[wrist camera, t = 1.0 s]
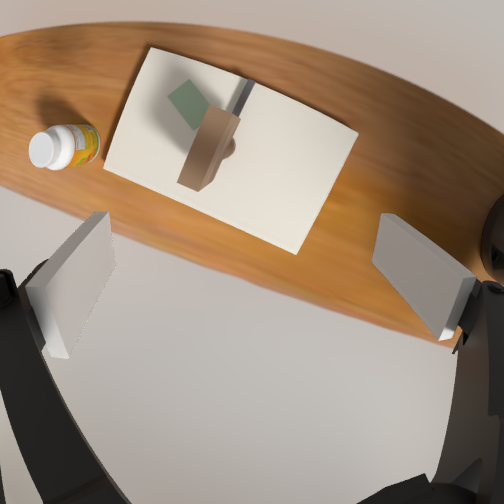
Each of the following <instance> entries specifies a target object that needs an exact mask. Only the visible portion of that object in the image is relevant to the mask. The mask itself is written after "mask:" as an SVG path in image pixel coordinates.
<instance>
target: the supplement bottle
mask: <svg viewBox="0 0 504 504" xmlns="http://www.w3.org/2000/svg"><path fill="white" fill-rule="evenodd" d="M99 149H100V137H99V134H98V132H97V131H96V129H95V128H93V127H92V126H90V125H85V124H75V125H55V126H52V127H50V128H48V129H47V130H46V131H45V132H39V133H37V134H36V135H34V137H33V138H32V140H31V142H30V145H29V157H30V160H31V162H32V163H33V164H34V165H35V166H37V167H47V168H48V169H51V170H60V169H64V168H68V167H73V166H77V165H82V164H86V163H89V162H91V161H92V160H93V159H94V158H95V157H96V156H97V154H98V152H99Z"/></svg>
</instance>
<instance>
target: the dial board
mask: <svg viewBox="0 0 504 504" xmlns="http://www.w3.org/2000/svg"><path fill="white" fill-rule="evenodd" d="M247 81H248V80H247V79H245V78H242V77H240V76H237V75H234V74H232V73H229V72H227V71H224V70H221V69H218V68H216V67H213V66H210V65H207V64H204V63H201V62H198V61H195V60H192V59H189V58H186V57H183V56H180V55H176V54H173V53H170V52H166V51H163V50H159V49H155V48H152V47H151V49H150V51H149V53H148V55H147V57H146V59H145V61H144V63H143V65H142V68H141V70H140V72H139V74H138V76H137V79H136V81H135V83H134V86H133V88H132V90H131V93H130V95H129V98H128V100H127V102H126V105H125V108H124V110H123V113H122V115H121V118H120V120H119V123H118V126H117V129H116V131H115V134H114V137H113V140H112V143H111V146H110V149H109V152H108V155H107V158H106V161H105V164H104V167H103V169H105V170H108V171H110V172H112V173H115V174H117V175H119V176H122V177H124V178H126V179H128V180H131V181H133V182H135V183H138V184H140V185H142V186H144V187H147V188H149V189H151V190H154V191H156V192H158V193H160V194H163V195H165V196H167V197H169V198H172V199H174V200H176V201H178V202H181V203H183V204H185V205H187V206H190V207H192V208H194V209H196V210H199V211H201V212H203V213H205V214H207V215H210V216H212V217H214V218H216V219H219V220H221V221H223V222H225V223H227V224H230V225H232V226H234V227H236V228H238V229H241V230H243V231H245V232H247V233H249V234H252V235H254V236H256V237H258V238H260V239H263V240H265V241H267V242H269V243H271V244H274V245H276V246H278V247H280V248H282V249H284V250H287V251H289V252H291V253H293V254H295V255H296V254H297V252H298V251H299V249H300V247H301V245H302V243H303V241H304V239H305V238H306V236H307V234H308V232H309V230H310V228H311V226H312V224H313V223H314V221H315V219H316V217H317V215H318V213H319V211H320V209H321V207H322V205H323V204H324V202H325V200H326V198H327V196H328V194H329V192H330V190H331V188H332V186H333V184H334V182H335V180H336V178H337V176H338V174H339V172H340V170H341V168H342V166H343V164H344V162H345V160H346V158H347V156H348V154H349V152H350V150H351V148H352V146H353V144H354V142H355V140H356V138H357V136H358V134H359V133H357V132H355V131H354V130H352V129H350V128H348V127H346V126H345V125H343V124H341V123H339V122H337V121H335V120H333V119H332V118H330V117H328V116H326V115H324V114H322V113H320V112H318V111H316V110H314V109H312V108H310V107H308V106H306V105H304V104H302V103H300V102H298V101H295V100H293V99H291V98H289V97H287V96H285V95H282V94H280V93H278V92H276V91H273V90H271V89H269V88H266V87H264V86H262V85H259V84H257V83H255V85H254V87H253V89H252V91H251V93H250V95H249V97H248V99H247V101H246V103H245V105H244V107H243V109H242V112H241V114H240V116H239V118H240V119H241V120H240V123H239V125H238V127H237V129H236V131H235V133H234V135H233V138H234V140H235V144H236V147H235V151H234V153H233V154H232V155H231V156H230V157H228V158H226V159H223V160H222V162H221V164H220V166H219V169H218V171H217V173H216V176H215V178H214V180H213V181H212V182H211V183H210V184H208V185H207V186H206V187H204V188H203V189H202V190H200V191H199V192H197V191H195V190H192V189H190V188H188V187H185V186H183V185H181V184H179V183H177V180H178V178H179V175H180V173H181V170H182V168H183V165H184V163H185V160H186V158H187V156H188V153H189V151H190V148H191V146H192V144H193V141H194V139H195V137H196V134H197V132H198V130H199V128H200V125H201V123H202V121H203V119H204V116H205V114H206V112H207V110H208V108H209V105H212V106H215V107H217V108H220V109H222V110H225V111H227V112H230V113H232V112H233V110H234V107H235V105H236V103H237V101H238V99H239V97H240V95H241V93H242V91H243V89H244V87H245V85H246V83H247Z"/></svg>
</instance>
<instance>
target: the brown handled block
mask: <svg viewBox="0 0 504 504" xmlns="http://www.w3.org/2000/svg"><path fill="white" fill-rule="evenodd" d="M255 83H256V81H253V80H251V79H248V81H247V83H246V85H245V87H244V89H243V91H242V93H241V95H240V97H239V99H238V101H237V103H236V105H235V107H234V110H233V112H232V113H230V112H227V111H225V110H222V109H220V108H217V107H215V106H212V105H209V108H208V110H207V112H206V114H205V116H204V119H203V121H202V123H201V125H200V128H199V130H198V132H197V134H196V137H195V139H194V141H193V144H192V146H191V148H190V151H189V153H188V156H187V158H186V160H185V163H184V165H183V168H182V170H181V173H180V175H179V178H178V180H177V183H179V184H181V185H183V186H185V187H188V188H190V189H192V190H195V191H197V192H199V191H200V190H202V189H203V188H204V187H206V186H207V185H208V184H210V183H211V182H212V181H213V180H214V178H215V176H216V173H217V171H218V169H219V166H220V164H221V162H222V160H223V159H226V158H228V157H230V156H231V155H232V154H233V153H234V151H235V147H236V144H235V140H234V138H233V135H234V133H235V131H236V129H237V127H238V125H239V123H240V120H241V119H240V118H239V116H240V114H241V112H242V109H243V107H244V105H245V103H246V101H247V99H248V97H249V95H250V93H251V91H252V89H253V87H254V85H255Z"/></svg>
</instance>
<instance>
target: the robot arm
mask: <svg viewBox="0 0 504 504" xmlns="http://www.w3.org/2000/svg"><path fill="white" fill-rule="evenodd" d="M481 255H482V261H483V264H484V267H485V269H486V271H487V273H488V274H489V275H490V276H491V277H492V278H493V279H495V280H496V281H497V282H498V283H497V282H493V281H483V282H482V283H481V282H480V281H479V280H478V279H477V276H475V275H474V274H473V273H472V272H471V271H469V270H468V269H467V268H466V267H464V266H463V265H462V264H461V263H459V262H458V261H457V260H456V259H454V258H453V257H452V256H451V255H449V254H448V253H447V252H445V251H444V250H443V249H442V248H440V247H439V246H438V245H436V244H435V243H434V242H432V241H431V240H430V239H428V238H427V237H426V236H424V235H423V234H422V233H420V232H419V231H417V230H416V229H415V228H413V227H412V226H411V225H409V224H408V223H406V222H405V221H404V220H402V219H401V218H399V217H398V216H396V215H395V214H390V213H381V218H380V223H379V229H378V234H377V239H376V244H375V249H374V254H373V258H372V263H373V264H374V265H375V266H376V268H377V269H378V270H379V271H380V272H381V273H382V274H383V275H384V276H385V278H386V279H387V280H388V281H389V282H390V283H391V284H392V286H393V287H394V288H395V289H396V290H397V291H398V292H399V294H400V295H401V296H402V297H403V298H404V299H405V301H406V302H407V303H408V304H409V305H410V307H411V308H412V309H413V310H414V311H415V313H416V314H417V315H418V316H419V317H420V319H421V320H422V321H423V322H424V323H425V325H426V326H427V327H428V328H429V330H430V331H431V332H432V333H433V335H434V336H435V337H436V338H437V340H438V341H440V340H445V339H450V338H452V337H453V335H454V333H455V330H456V328H457V326H458V325H459V326H460V327H461V329H462V330H463V331H462V333H461V335H460V337H459V339H458V342H457V344H456V346H455V348H454V350H453V352H452V354H455V352H456V351H457V350H458V359H457V368H456V377H455V384H454V392H453V399H452V405H451V411H450V416H449V422H448V426H447V431H446V436H445V440H444V445H443V449H442V453H441V457H440V461H439V464H438V468H437V471H436V474H435V476H434V478H433V480H432V481H431V483H429V481H428V479H427V477H426V475H425V473H424V474H421V475H419V476H416V477H413V478H411V479H408V480H405V481H403V482H399V483H397V484H394V485H391V486H387V487H385V488H383V489H382V490H380V491H378V492H377V493H375V494H373V495H372V496H370V497H368V498H366V499H364V500H362V501H361V502H359V503H357V504H504V287H503V286H502V285H504V195H503V196H502V197H501V198H500V199H499V200H498V201H497V202H496V204H495V205H494V206H493V208H492V210H491V211H490V213H489V216H488V218H487V220H486V223H485V226H484V230H483V234H482V242H481ZM115 266H116V262H115V256H114V249H113V242H112V234H111V226H110V218H109V212H94V213H93V214H92V215H91V216H90V217H89V218H88V219H87V220H86V221H85V222H84V223H83V224H82V225H81V226H80V227H79V228H78V229H77V230H76V231H75V232H74V233H73V234H72V235H71V236H70V237H69V238H68V239H67V240H66V241H65V242H64V243H63V245H61V247H60V248H59V249H58V250H57V251H56V252H55V253H54V254H53V255H52V256H51V257H50V258H49V259H47V260H45V261H43V262H42V263H40V264H39V265H37V267H36V268H35V269H34V270H33V271H32V273H30V274H29V275H28V277H27V279H25V280H24V281H23V282H22V283H21V285H20V286H19V287H18V288H17V287H16V283H15V280H14V277H13V273H12V272H11V271H10V270H7V269H0V390H1V393H2V397H3V401H4V404H5V408H6V411H7V414H8V418H9V420H10V424H11V426H12V430H13V433H14V435H15V438H16V441H17V444H18V446H19V449H20V452H21V454H22V457H23V459H24V462H25V464H26V466H27V469H28V471H29V473H30V475H31V478H32V480H33V482H34V484H35V486H36V488H37V490H38V492H39V494H40V496H41V499H42V501H43V504H131V502H130V501H129V500H128V499H127V497H126V496H125V495H124V493H123V492H122V491H121V490H120V488H119V487H118V486H117V484H116V483H115V482H114V480H113V479H112V477H111V476H110V475H109V473H108V472H107V470H106V469H105V468H104V466H103V465H102V463H101V462H100V460H99V459H98V457H97V456H96V454H95V453H94V451H93V450H92V448H91V446H90V445H89V443H88V442H87V440H86V438H85V437H84V435H83V433H82V432H81V430H80V428H79V427H78V425H77V423H76V421H75V420H74V418H73V416H72V414H71V412H70V411H69V409H68V407H67V405H66V403H65V401H64V399H63V397H62V395H61V393H60V391H59V389H58V387H57V385H56V383H55V381H54V379H53V377H52V375H51V373H50V370H49V368H48V366H47V364H46V361H45V359H44V357H43V355H42V352H41V351H42V349H43V347H44V345H45V343H46V346H47V348H48V351H49V353H50V355H51V357H58V358H66V359H70V357H71V355H72V352H73V350H74V348H75V346H76V343H77V342H78V339H79V337H80V335H81V333H82V331H83V329H84V327H85V325H86V322H87V320H88V318H89V316H90V314H91V312H92V310H93V308H94V306H95V304H96V302H97V300H98V298H99V296H100V294H101V293H102V291H103V289H104V287H105V285H106V283H107V281H108V279H109V277H110V276H111V274H112V272H113V270H114V268H115ZM499 283H500V284H499ZM501 284H502V285H501ZM0 504H6V501H5V496H4V490H3V484H2V476H1V468H0Z"/></svg>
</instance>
